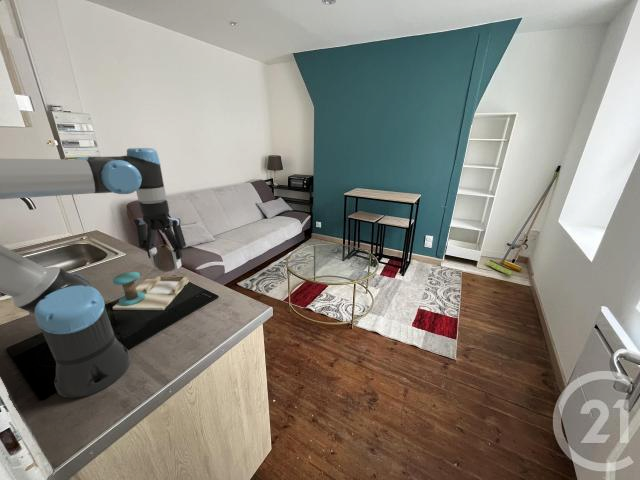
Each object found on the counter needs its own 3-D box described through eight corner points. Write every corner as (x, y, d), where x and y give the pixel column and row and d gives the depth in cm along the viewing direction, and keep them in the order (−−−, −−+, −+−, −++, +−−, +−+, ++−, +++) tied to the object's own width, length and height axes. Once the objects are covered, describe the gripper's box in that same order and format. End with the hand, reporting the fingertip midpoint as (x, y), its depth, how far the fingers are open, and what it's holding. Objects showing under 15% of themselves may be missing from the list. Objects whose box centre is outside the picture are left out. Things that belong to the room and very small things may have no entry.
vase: (161, 276, 86) (155, 252, 82) (154, 269, 90) (147, 246, 87) (183, 268, 90) (178, 245, 87) (175, 262, 95) (169, 240, 91)
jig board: (163, 310, 95) (157, 284, 91) (113, 309, 94) (104, 284, 90) (188, 281, 113) (184, 259, 109) (146, 281, 113) (141, 259, 109)
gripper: (190, 198, 84) (201, 262, 93) (130, 197, 85) (146, 261, 93) (178, 204, 77) (190, 272, 86) (112, 202, 78) (131, 271, 86)
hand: (167, 266), depth 90 cm, fingers closed on vase, 7 cm apart
